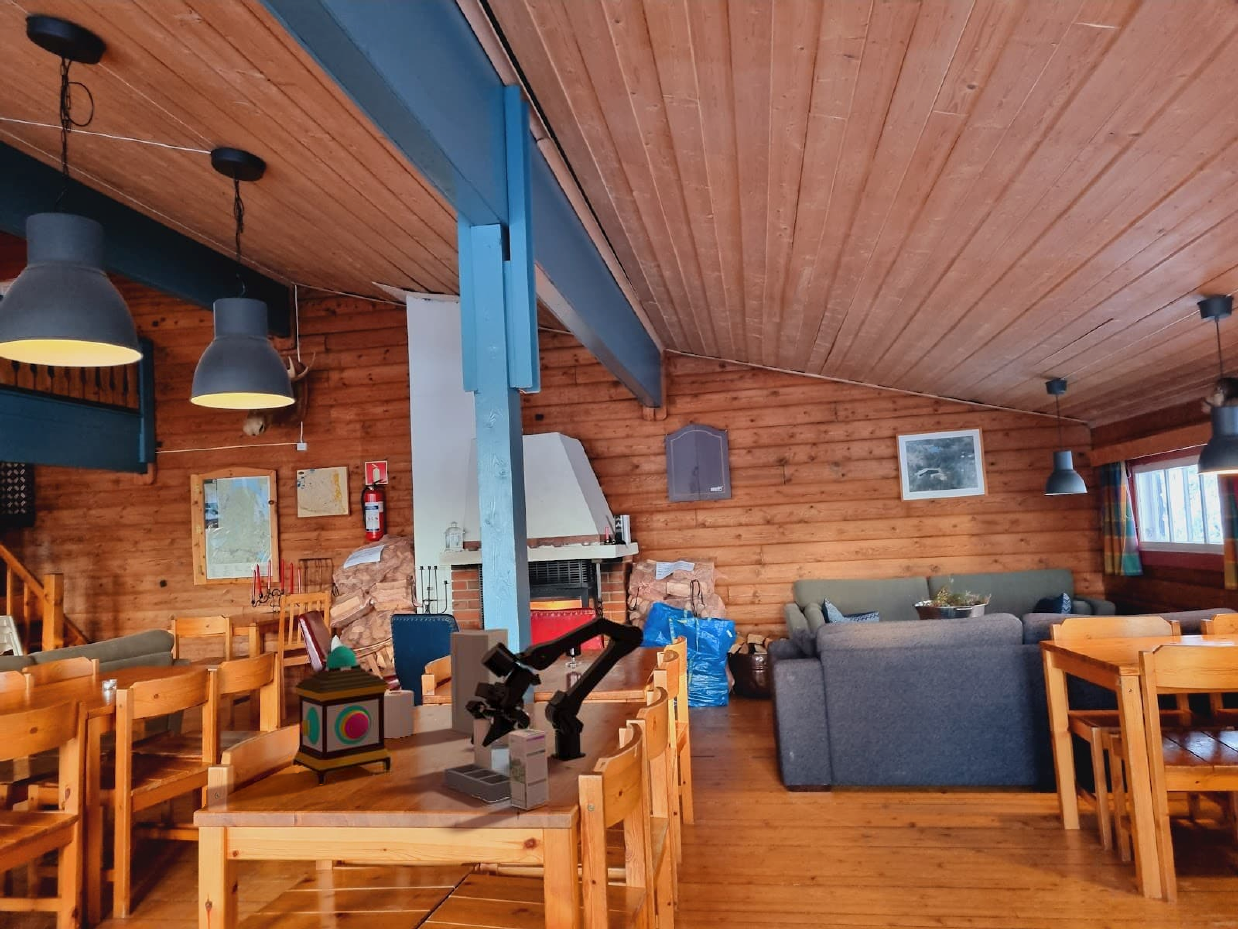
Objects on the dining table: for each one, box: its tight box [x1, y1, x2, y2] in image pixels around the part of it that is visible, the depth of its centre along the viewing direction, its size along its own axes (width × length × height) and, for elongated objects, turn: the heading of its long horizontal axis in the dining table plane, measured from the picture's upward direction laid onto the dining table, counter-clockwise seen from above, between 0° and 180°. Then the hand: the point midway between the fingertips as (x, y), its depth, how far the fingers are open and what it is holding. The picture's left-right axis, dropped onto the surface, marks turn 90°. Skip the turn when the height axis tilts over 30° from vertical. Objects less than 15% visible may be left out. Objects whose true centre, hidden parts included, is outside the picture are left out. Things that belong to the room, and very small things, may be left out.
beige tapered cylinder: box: [473, 719, 493, 770], centre depth 197 cm, size 4×4×12 cm
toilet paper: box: [384, 689, 415, 738], centre depth 244 cm, size 10×10×12 cm
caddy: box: [444, 763, 510, 801], centre depth 181 cm, size 20×7×4 cm, turn 40°
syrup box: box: [508, 728, 550, 808], centre depth 169 cm, size 6×6×14 cm
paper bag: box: [449, 628, 509, 736], centre depth 251 cm, size 19×15×28 cm
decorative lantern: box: [292, 645, 392, 785], centre depth 204 cm, size 20×20×30 cm
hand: (477, 745), depth 196 cm, fingers closed on beige tapered cylinder, 4 cm apart
